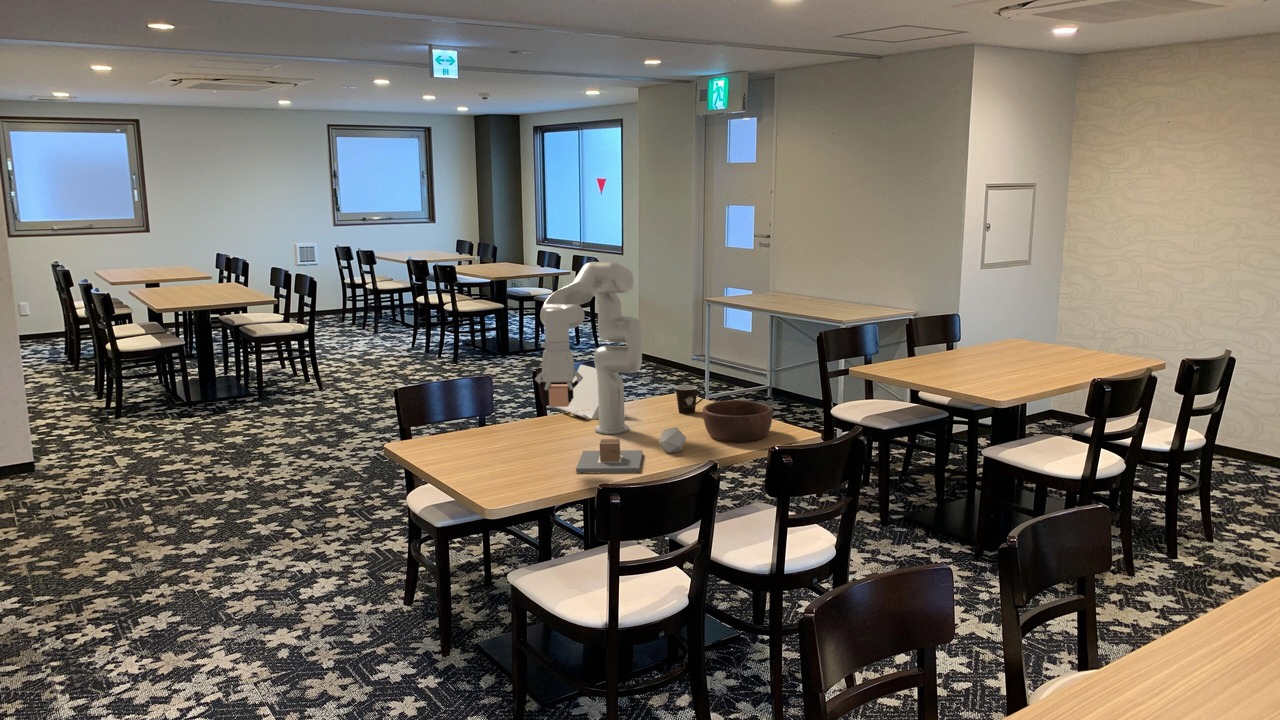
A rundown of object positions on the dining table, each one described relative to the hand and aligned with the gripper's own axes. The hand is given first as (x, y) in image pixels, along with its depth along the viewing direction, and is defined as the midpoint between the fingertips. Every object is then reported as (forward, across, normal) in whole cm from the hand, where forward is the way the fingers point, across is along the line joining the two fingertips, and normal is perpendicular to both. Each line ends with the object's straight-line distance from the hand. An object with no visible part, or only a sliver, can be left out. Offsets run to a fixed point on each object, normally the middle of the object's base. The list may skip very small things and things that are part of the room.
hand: (559, 400), depth 304 cm
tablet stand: (+22, -1, +72) cm, 75 cm away
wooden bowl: (+22, +58, +34) cm, 71 cm away
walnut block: (+20, +16, +1) cm, 25 cm away
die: (+22, +36, +15) cm, 44 cm away
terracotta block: (+1, 0, 0) cm, 1 cm away
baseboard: (+21, +16, +1) cm, 26 cm away
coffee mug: (+22, +41, +69) cm, 83 cm away
